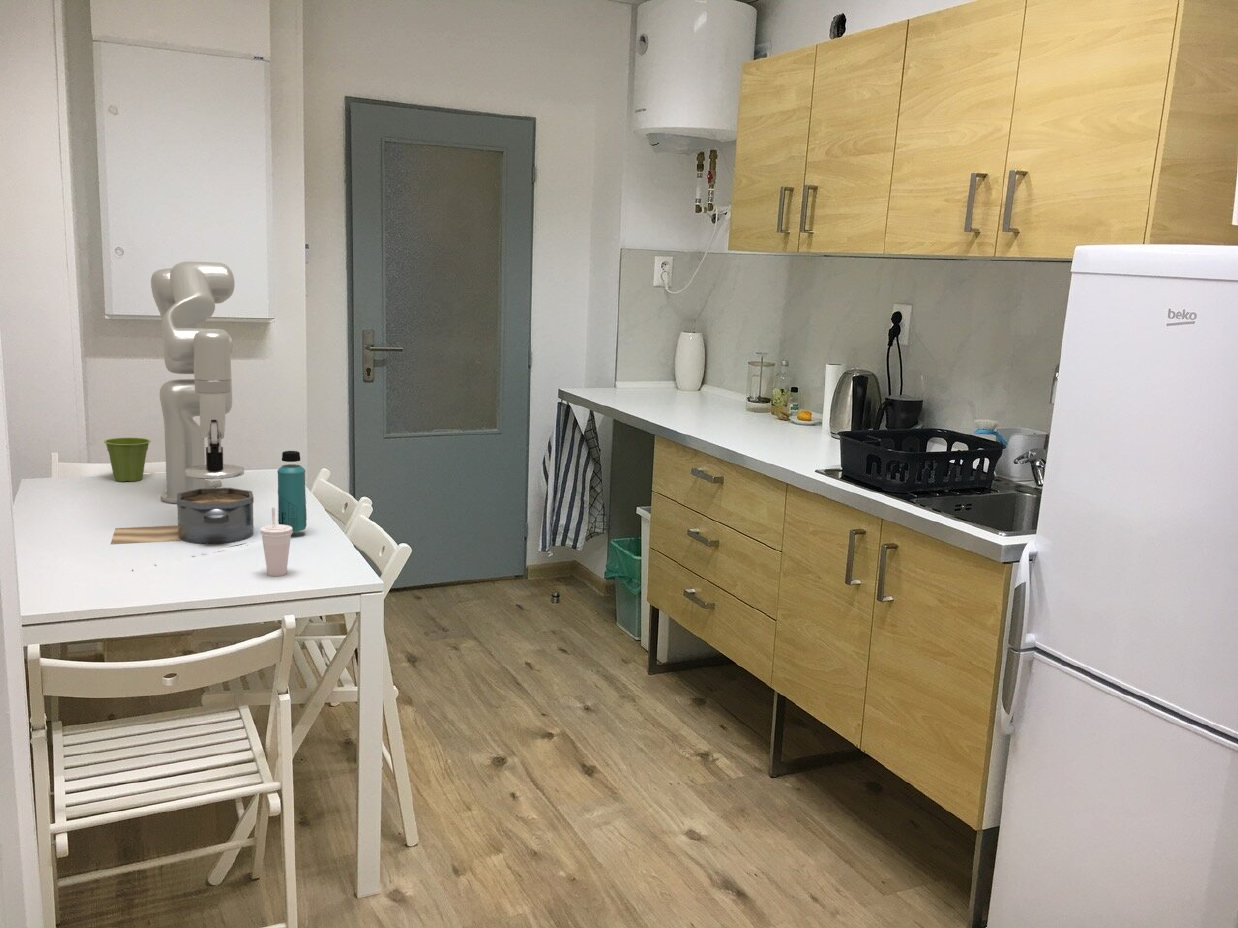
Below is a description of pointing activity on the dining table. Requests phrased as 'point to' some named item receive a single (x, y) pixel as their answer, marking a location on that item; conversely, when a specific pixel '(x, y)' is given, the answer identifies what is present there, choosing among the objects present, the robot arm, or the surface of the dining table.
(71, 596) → the dining table surface
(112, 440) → the plant pot
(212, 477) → the lid
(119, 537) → the plate
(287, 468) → the beverage bottle
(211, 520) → the stockpot
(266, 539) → the smoothie
